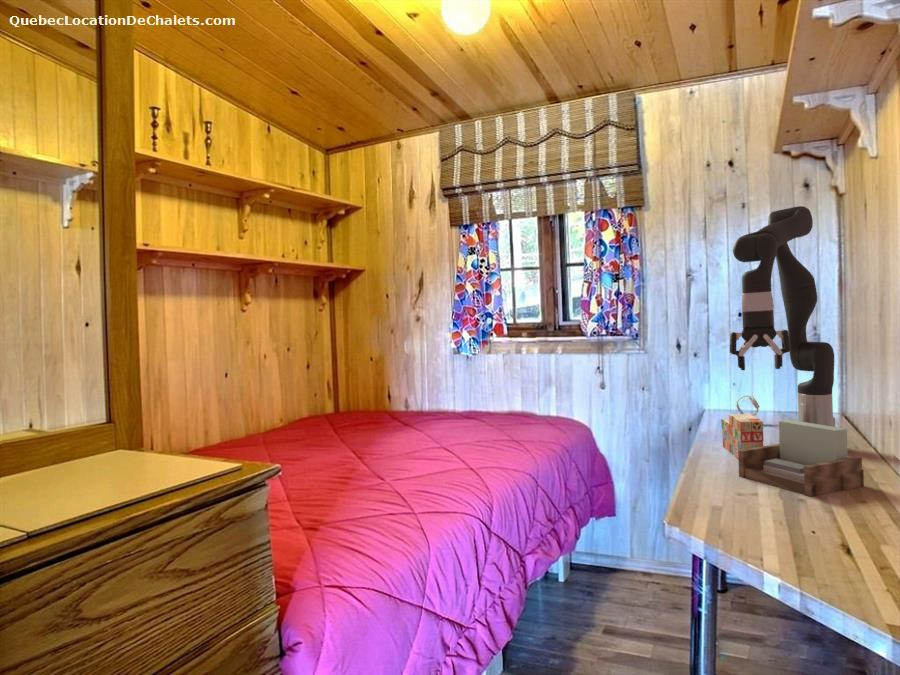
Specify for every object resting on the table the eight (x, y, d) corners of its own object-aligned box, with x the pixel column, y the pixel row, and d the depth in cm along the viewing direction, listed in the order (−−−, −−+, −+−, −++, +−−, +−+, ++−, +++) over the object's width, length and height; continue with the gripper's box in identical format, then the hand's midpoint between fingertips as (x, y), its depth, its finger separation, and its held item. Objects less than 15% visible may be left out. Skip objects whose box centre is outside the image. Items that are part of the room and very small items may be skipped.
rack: (788, 467, 166) (787, 442, 166) (863, 485, 146) (863, 457, 146) (739, 476, 160) (738, 450, 160) (810, 496, 140) (809, 467, 140)
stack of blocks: (722, 446, 195) (720, 409, 194) (742, 446, 194) (741, 408, 193) (741, 462, 174) (740, 420, 173) (764, 462, 173) (763, 420, 172)
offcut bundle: (772, 475, 160) (772, 457, 160) (824, 489, 146) (824, 469, 146) (758, 478, 158) (757, 459, 158) (809, 492, 144) (809, 472, 144)
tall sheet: (791, 470, 163) (789, 419, 163) (848, 484, 148) (846, 428, 148) (780, 472, 162) (778, 421, 161) (836, 487, 147) (835, 430, 146)
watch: (760, 425, 225) (759, 396, 224) (737, 425, 228) (736, 396, 228) (759, 423, 230) (758, 394, 229) (736, 422, 233) (735, 394, 233)
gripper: (783, 307, 162) (785, 367, 163) (726, 311, 166) (728, 369, 166) (791, 307, 155) (793, 370, 155) (731, 311, 158) (734, 371, 159)
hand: (760, 369), depth 161 cm, fingers open, 8 cm apart
